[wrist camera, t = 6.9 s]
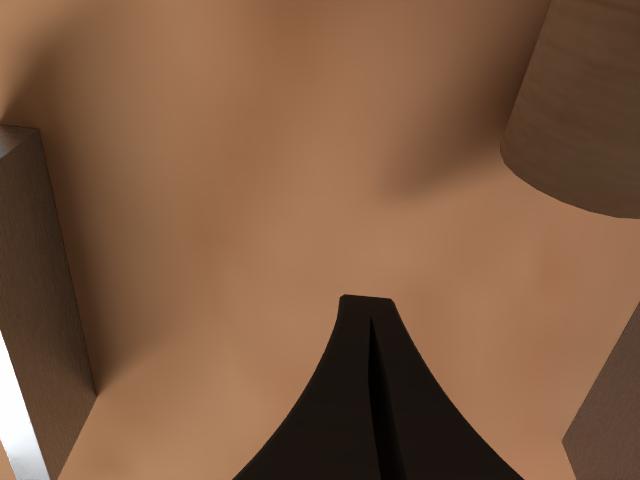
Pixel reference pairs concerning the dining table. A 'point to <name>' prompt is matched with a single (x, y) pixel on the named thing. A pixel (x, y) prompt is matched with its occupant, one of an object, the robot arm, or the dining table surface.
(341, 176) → the dining table surface
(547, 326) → the dining table surface
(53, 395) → the pair of rectangular slabs
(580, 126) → the wooden block set
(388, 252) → the dining table surface
